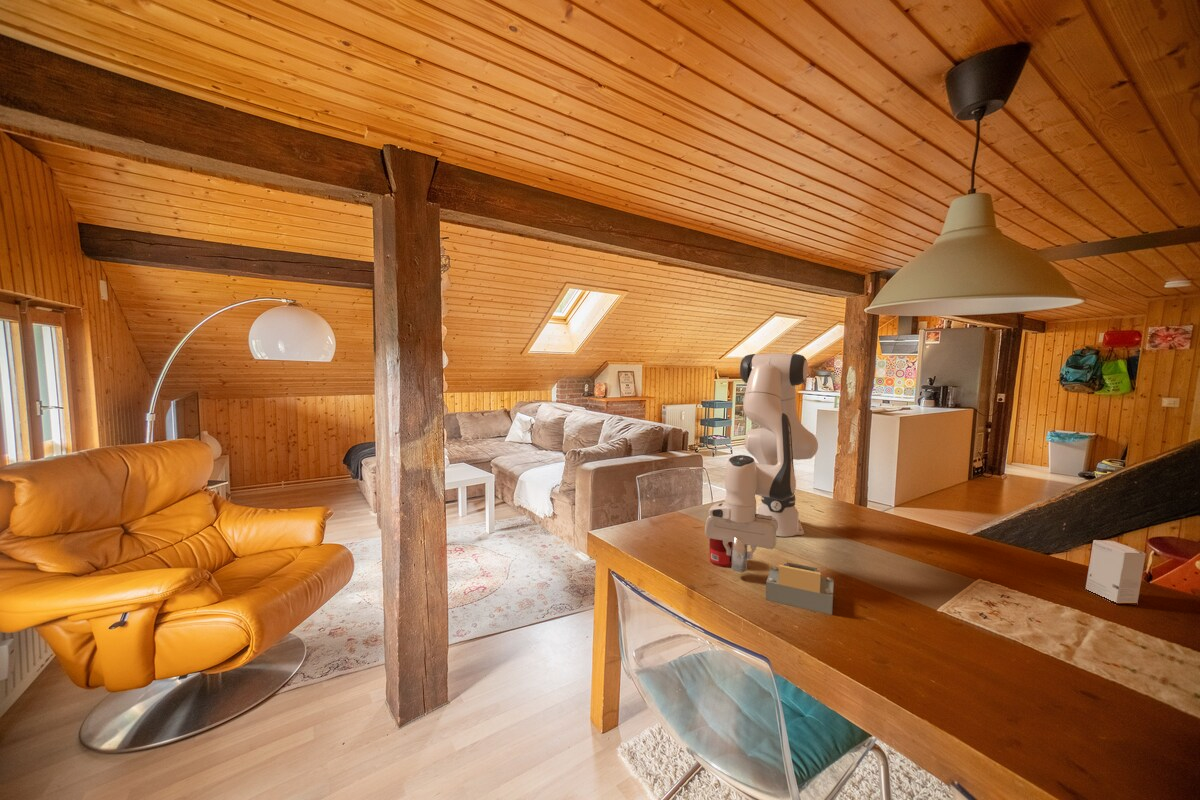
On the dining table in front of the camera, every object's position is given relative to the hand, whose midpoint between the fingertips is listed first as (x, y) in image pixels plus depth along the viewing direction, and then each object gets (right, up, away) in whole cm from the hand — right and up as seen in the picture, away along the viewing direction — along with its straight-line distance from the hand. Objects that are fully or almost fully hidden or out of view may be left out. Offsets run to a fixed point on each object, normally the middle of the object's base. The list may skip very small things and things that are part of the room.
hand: (739, 556), depth 136 cm
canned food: (-2, -6, +11) cm, 13 cm away
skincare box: (+98, -8, -11) cm, 99 cm away
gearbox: (+13, -7, -11) cm, 19 cm away
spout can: (0, -4, 0) cm, 4 cm away
